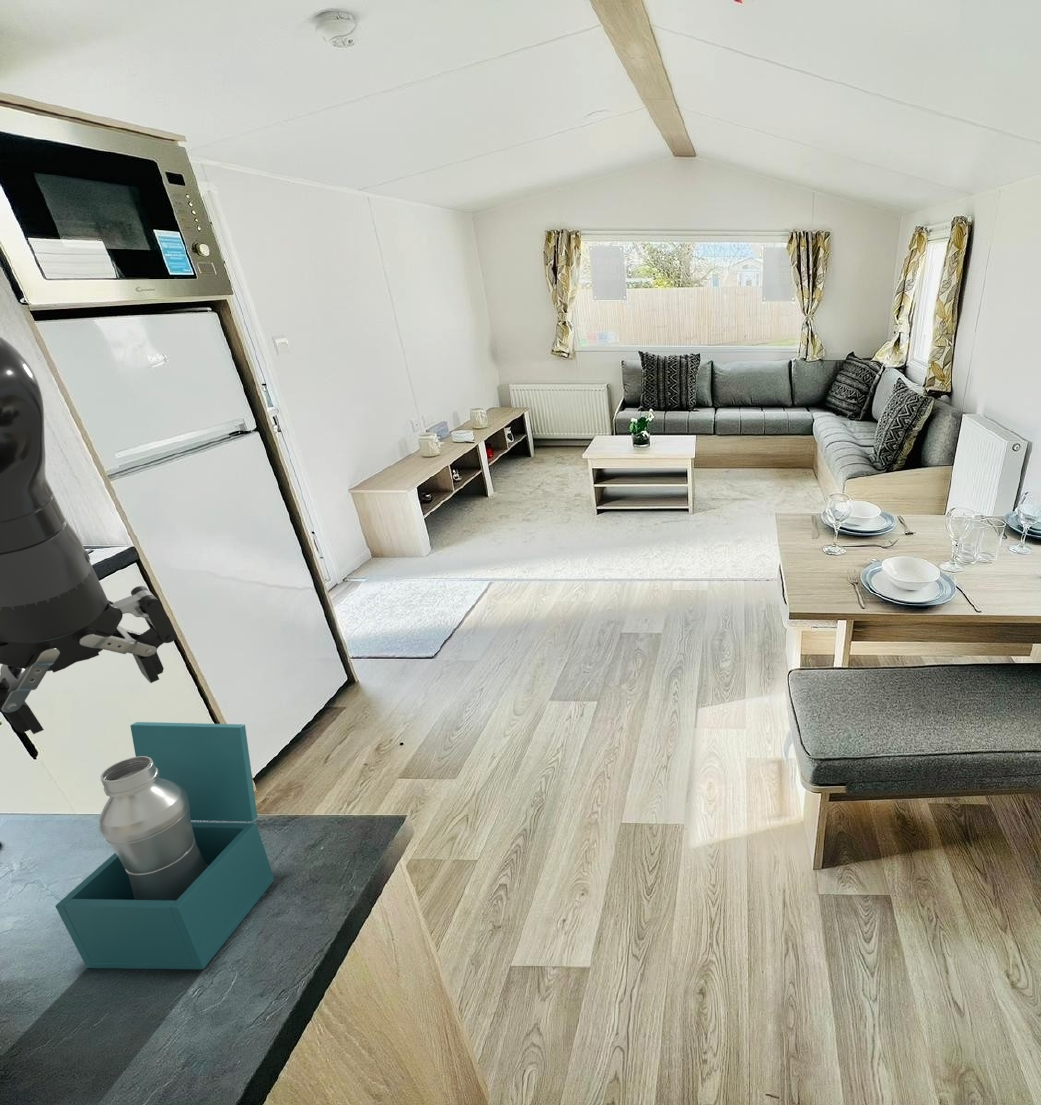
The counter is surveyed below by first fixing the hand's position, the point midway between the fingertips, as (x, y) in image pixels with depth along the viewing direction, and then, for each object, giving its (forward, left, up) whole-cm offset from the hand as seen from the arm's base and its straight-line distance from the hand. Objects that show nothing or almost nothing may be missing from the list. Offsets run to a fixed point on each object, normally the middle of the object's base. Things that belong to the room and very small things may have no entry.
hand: (95, 700), depth 60 cm
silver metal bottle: (+3, -2, -26) cm, 27 cm away
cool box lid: (+3, +3, -12) cm, 13 cm away
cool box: (+3, -2, -27) cm, 27 cm away
